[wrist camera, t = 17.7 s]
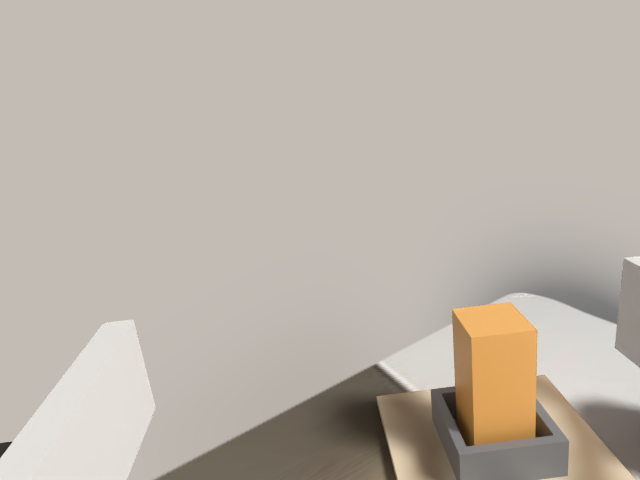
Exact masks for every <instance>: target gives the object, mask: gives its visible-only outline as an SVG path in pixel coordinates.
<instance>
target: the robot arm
mask: <svg viewBox="0 0 640 480" xmlns="http://www.w3.org/2000/svg"><path fill="white" fill-rule="evenodd" d="M615 348H616V349H617V350H618V351H620V352H621V353H622V354H623V355H625V356H626V357H627V358H628V359H630V360H631V361H632V362H633V363H635V364H636V365H637V366H638V367H640V256H637V257H629V258H624V262H623V272H622V282H621V292H620V302H619V312H618V322H617V332H616V342H615ZM154 411H155V404H154V400H153V396H152V392H151V388H150V384H149V380H148V376H147V372H146V368H145V364H144V360H143V356H142V352H141V348H140V345H139V340H138V336H137V332H136V328H135V325H134V320H133V319H132V320H124V321H116V322H108V323H103V325H102V326H101V327H100V328H99V330H98V331H97V332H96V334H95V335H94V336H93V338H92V339H91V340H90V342H89V343H88V344H87V345H86V347H85V348H84V349H83V351H82V352H81V353H80V355H79V356H78V357H77V359H76V360H75V361H74V362H73V364H72V365H71V366H70V368H69V369H68V370H67V372H66V373H65V374H64V376H63V377H62V378H61V380H60V381H59V382H58V383H57V385H56V386H55V387H54V389H53V390H52V391H51V392H50V394H49V395H48V396H47V398H46V399H45V400H44V402H43V403H42V404H41V406H40V407H39V408H38V410H37V411H36V412H35V414H34V415H33V416H32V417H31V419H30V420H29V421H28V423H27V424H26V425H25V427H24V428H23V429H22V430H21V432H20V433H19V434H18V436H17V437H16V438H15V440H14V441H13V442H6V443H0V480H127V478H128V475H129V473H130V470H131V468H132V465H133V463H134V460H135V458H136V455H137V453H138V450H139V448H140V445H141V443H142V440H143V438H144V436H145V433H146V430H147V428H148V426H149V423H150V420H151V418H152V416H153V413H154Z"/></svg>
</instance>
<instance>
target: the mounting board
mask: <svg viewBox="0 0 640 480" xmlns="http://www.w3.org/2000/svg"><path fill="white" fill-rule="evenodd" d="M446 388H447V387H446ZM438 389H439V388H438ZM536 399H537V400H538V401H539V402H540V404H541V405H542V406H543V408H544V409H545V410H546V412H547V413H548V414H549V415H550V417H551V418H552V419H553V421H554V422H555V423H556V424H557V426H558V427H559V428H560V430H561V431H562V432H563V433H564V435H565V436H566V437H567V439H568V440H569V460H568V476H564V477H557V478H549V479H541V480H636V479H635V478H634V477H633V476H632V475H631V474H630V472H629V471H628V470H627V469H626V468H625V467H624V466H623V464H622V463H621V462H620V461H619V460H618V459H617V458H616V456H615V455H614V454H613V453H612V452H611V451H610V449H609V448H608V447H607V446H606V445H605V444H604V443H603V441H602V440H601V439H600V438H599V437H598V436H597V434H596V433H595V432H594V431H593V430H592V429H591V428H590V426H589V425H588V424H587V423H586V422H585V421H584V420H583V418H582V417H581V416H580V415H579V414H578V413H577V411H576V410H575V409H574V408H573V407H572V406H571V405H570V403H569V402H568V401H567V400H566V399H565V398H564V397H563V395H562V394H561V393H560V392H559V391H558V390H557V388H556V387H555V386H554V385H553V384H552V383H551V382H550V380H549V379H548V378H547V377H546V376H545V375H540V376H536ZM377 405H378V409H379V413H380V417H381V421H382V425H383V429H384V433H385V437H386V441H387V445H388V449H389V453H390V456H391V460H392V464H393V468H394V472H395V476H396V480H457V479H456V477H455V474H454V472H453V469H452V467H451V464H450V462H449V459H448V457H447V454H446V452H445V450H444V447H443V445H442V442H441V440H440V437H439V435H438V432H437V430H436V427H435V425H434V423H433V420H432V406H431V389H430V390H423V391H415V392H407V393H399V394H392V395H384V396H377Z"/></svg>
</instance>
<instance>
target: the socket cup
mask: <svg viewBox="0 0 640 480" xmlns="http://www.w3.org/2000/svg"><path fill="white" fill-rule="evenodd" d="M431 406H432V420H433V423H434V425H435V427H436V430H437V432H438V435H439V437H440V440H441V442H442V445H443V447H444V450H445V452H446V454H447V457H448V459H449V462H450V464H451V467H452V469H453V472H454V474H455V477H456V479H457V480H541V479H549V478H557V477H564V476H568V460H569V440H568V439H567V437H566V436H565V435H564V433H563V432H562V431H561V430H560V428H559V427H558V426H557V424H556V423H555V422H554V421H553V419H552V418H551V417H550V415H549V414H548V413H547V412H546V410H545V409H544V408H543V406H542V405H541V404H540V402H539V401H538V400H537V399H536V430H535V438H529V439H521V440H513V441H505V442H498V443H490V444H482V445H474V446H467V447H466V445H465V443H464V440H463V438H462V436H461V434H460V432H459V430H458V428H457V417H456V393H455V386H454V387H447V388H439V389H431Z"/></svg>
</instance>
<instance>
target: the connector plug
mask: <svg viewBox="0 0 640 480" xmlns="http://www.w3.org/2000/svg"><path fill="white" fill-rule="evenodd" d="M452 318H453V343H454V368H455V393H456V417H457V428H458V430H459V432H460V434H461V436H462V438H463V440H464V443H465V445H466V447H467V446H474V445H482V444H490V443H498V442H505V441H513V440H521V439H529V438H535V430H536V375H537V329H536V328H535V327H534V326H533V325H532V324H531V323H530V322H529V321H528V320H527V319H526V318H525V317H524V316H523V315H522V314H521V313H520V312H519V311H518V310H517V309H516V308H515V307H514V305H513V304H512V303H511V302H508V303H500V304H492V305H483V306H475V307H467V308H459V309H452Z"/></svg>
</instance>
